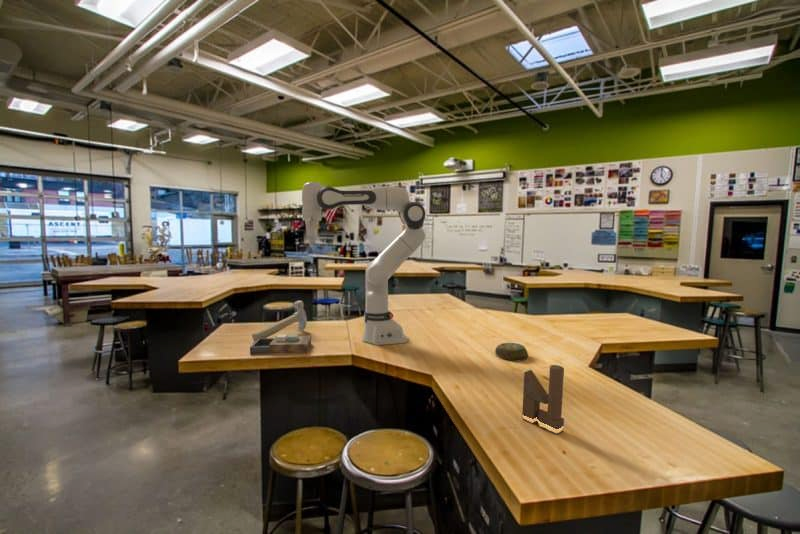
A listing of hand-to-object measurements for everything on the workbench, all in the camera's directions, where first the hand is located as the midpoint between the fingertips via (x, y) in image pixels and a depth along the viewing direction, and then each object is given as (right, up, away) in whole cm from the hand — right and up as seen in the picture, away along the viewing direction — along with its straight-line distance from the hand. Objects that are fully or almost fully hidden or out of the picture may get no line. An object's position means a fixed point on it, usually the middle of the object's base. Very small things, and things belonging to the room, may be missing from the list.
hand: (312, 246), depth 177 cm
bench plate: (-8, -47, -8) cm, 48 cm away
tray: (-20, -47, -9) cm, 51 cm away
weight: (+90, -49, -14) cm, 104 cm away
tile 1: (-12, -43, -8) cm, 45 cm away
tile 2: (-7, -43, -8) cm, 44 cm away
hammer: (-18, -45, +12) cm, 50 cm away
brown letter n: (+82, -55, -72) cm, 122 cm away
